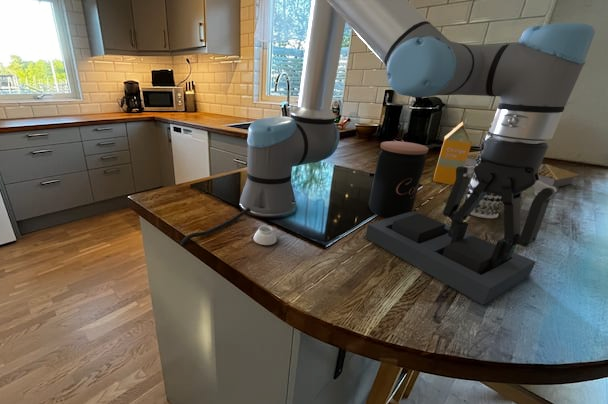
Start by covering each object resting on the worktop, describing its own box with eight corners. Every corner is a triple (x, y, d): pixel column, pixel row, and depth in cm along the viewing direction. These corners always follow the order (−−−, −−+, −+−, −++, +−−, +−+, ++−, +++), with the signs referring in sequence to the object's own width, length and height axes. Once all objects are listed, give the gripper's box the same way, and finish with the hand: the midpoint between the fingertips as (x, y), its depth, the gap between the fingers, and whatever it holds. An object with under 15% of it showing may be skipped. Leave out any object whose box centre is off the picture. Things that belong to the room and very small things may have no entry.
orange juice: (458, 178, 108) (476, 122, 100) (458, 185, 101) (478, 125, 93) (433, 174, 111) (449, 120, 103) (432, 181, 105) (448, 123, 97)
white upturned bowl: (278, 237, 66) (256, 233, 68) (279, 225, 65) (257, 221, 67) (273, 248, 62) (250, 244, 63) (274, 236, 61) (251, 232, 62)
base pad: (483, 305, 48) (490, 288, 46) (365, 237, 67) (367, 223, 66) (528, 277, 55) (536, 261, 53) (410, 223, 74) (413, 210, 73)
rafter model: (451, 162, 129) (456, 148, 126) (473, 159, 134) (477, 146, 132) (553, 189, 99) (561, 171, 97) (575, 184, 105) (583, 167, 102)
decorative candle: (459, 202, 87) (488, 114, 77) (498, 210, 83) (535, 117, 73) (458, 212, 81) (489, 117, 71) (501, 222, 76) (541, 121, 66)
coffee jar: (392, 223, 74) (409, 152, 66) (359, 207, 82) (371, 143, 75) (419, 215, 78) (438, 148, 71) (385, 201, 87) (399, 139, 80)
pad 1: (413, 254, 61) (419, 233, 59) (388, 241, 66) (393, 221, 64) (439, 244, 65) (445, 224, 63) (414, 232, 70) (419, 213, 68)
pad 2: (471, 286, 52) (481, 262, 50) (438, 268, 57) (445, 245, 55) (497, 272, 56) (507, 249, 54) (464, 256, 61) (471, 235, 59)
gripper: (442, 130, 52) (411, 243, 62) (594, 154, 37) (523, 299, 46) (466, 127, 56) (433, 235, 65) (614, 149, 41) (544, 285, 50)
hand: (470, 261), depth 56 cm, fingers closed on pad 2, 6 cm apart
